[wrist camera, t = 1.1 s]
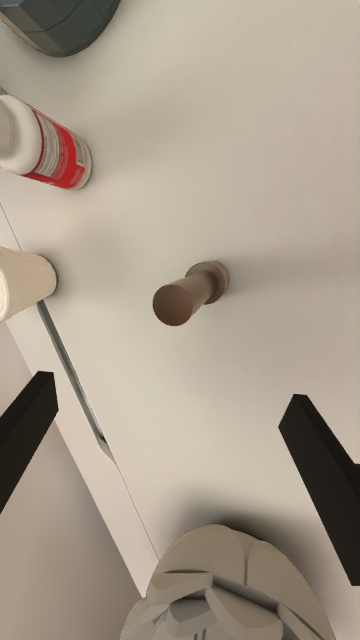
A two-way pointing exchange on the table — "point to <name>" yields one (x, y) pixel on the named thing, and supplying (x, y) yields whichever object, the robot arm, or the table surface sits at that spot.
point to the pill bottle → (41, 147)
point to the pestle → (190, 293)
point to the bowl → (57, 22)
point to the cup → (23, 281)
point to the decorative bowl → (226, 593)
